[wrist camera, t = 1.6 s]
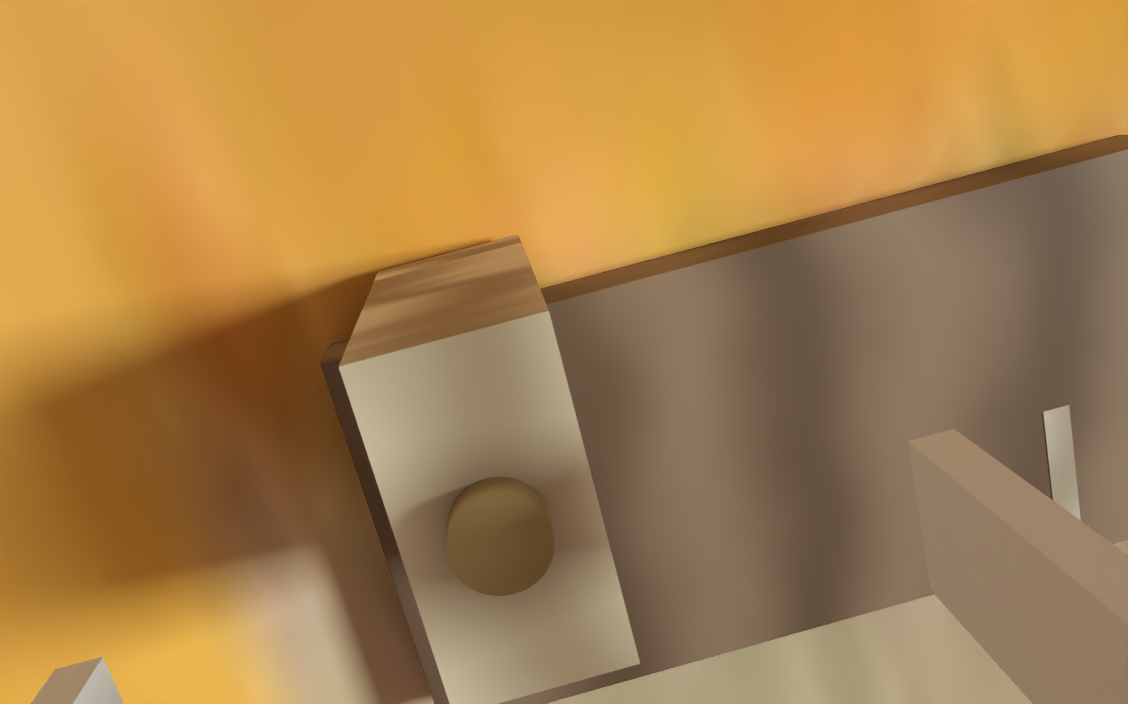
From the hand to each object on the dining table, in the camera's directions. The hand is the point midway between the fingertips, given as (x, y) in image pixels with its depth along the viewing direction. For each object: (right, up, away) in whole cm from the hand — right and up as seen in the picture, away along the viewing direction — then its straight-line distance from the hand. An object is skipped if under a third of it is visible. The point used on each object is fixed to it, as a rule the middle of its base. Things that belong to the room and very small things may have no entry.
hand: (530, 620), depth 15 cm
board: (+7, +2, +15) cm, 16 cm away
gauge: (-2, +4, +13) cm, 14 cm away
